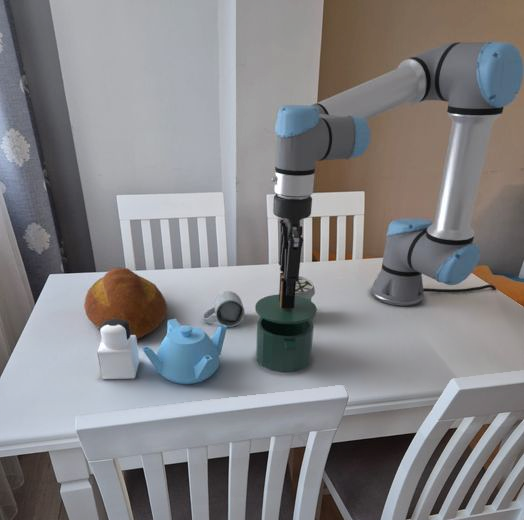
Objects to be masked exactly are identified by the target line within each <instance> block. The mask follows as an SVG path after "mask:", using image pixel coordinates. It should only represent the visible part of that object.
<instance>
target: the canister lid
mask: <svg viewBox="0 0 524 520" xmlns="http://www.w3.org/2000/svg"><path fill="white" fill-rule="evenodd" d="M281 278H284V274H282V275H281ZM282 284H283V281H281V293H280V301H279V293H278V294H271V295H267V296H264V297H262V298H261V299H259V300H258V301H257V302H256V303H255V305H254V307H255V308H254V309H255V313H256V314H257V315H258V316H259V318H260V317H262V318H263V319H265V320H268V321H271V322H275V323H280V324H297V323H303V322H306V321H309V320H311V321H312V319H314V318H315V317H316V316H317V312H318V308H317V305H316V304H315V303H314V302H313V301H312V300H311V301H310V300H308V299H306V298H303V297H300V296H296V295H295V302H294V308H281V302H282Z"/></svg>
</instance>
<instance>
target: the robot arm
mask: <svg viewBox="0 0 524 520" xmlns="http://www.w3.org/2000/svg"><path fill="white" fill-rule="evenodd" d="M523 78H524V59H523V56H522V55H521V52H520V50H519V49H518V47H516V46H515V44H512V43H510V42H501V41H495V40H492V41H480V42H477V41H475V42H473V41H471V42H469V41H467V42H458V41H455V42H449V43H445V44H440V45H438V46H435V47H433V48H430V49H427V50H426V51H423V52H421V53H418V54H415V55H414V56H410V57H408V58H406V59H405V60H402V61H401V62H400V63H399V65H398V66H397V68H395V69H393V70H391V71H388V72H386V73H384V74H382V75H378V76H377V77H374V78H371V79H370V80H368V81H365V82H363V83H361V84H358V85H356V86H354V87H352V88H349V89H347V90H343V91H342V92H340V93H337V94H334V95H332V96H330V97H328V98H325V99H323V100H321V101H318V102H316V103H313V104H311V105H305V104H304V105H302V104H299V105H298V104H285V105H283V106H281V107H280V108H279V109H278V113H277V119H276V121H275V125H274V126H275V127H274V130H275V161H274V162H275V163H274V174H275V176H272V177H271V182H273V183H274V186H273V187H274V191H273V192H274V193H275V195H274V196H273V204H272V205H273V206H272V207H273V208H272V212H273V214H274V216H275V217H277V218H280V219H279V229H280V232H279V258H278V265H279V270H280V273H279V290H278V291H279V292H278V294H279V301H280V293H281V281H283V284H282V302H281V308H294V302H295V288H296V282H298V280H299V276H300V268H301V258H302V257H301V256H302V247H303V244H304V243H303V242H304V237H303V226H302V225H301V220H303V219H307V218H309V217H310V216H312V215H311V214H312V207H313V198H312V195H313V194H314V185H315V175H316V174H315V173H316V172H315V171H316V162H321V161H334V160H350V159H356V158H359V157H362V156H363V155H364V154H365V153H366V152H367V150H368V148H369V146H370V142H371V128H370V125H369V123H368V121H370V120H372V119H374V118H377V117H379V116H381V115H383V114H385V113H388V112H390V111H393V110H394V109H397V108H399V107H401V106H403V105H405V104H406V105H410V106H413V105H416V104H419V103H421V102H425V101H440V102H448V104H447V109H446V110H447V111H446V114H447V116H448V117H449V118H450V120H451V127H450V133H449V138H448V144H447V149H446V155H445V161H444V167H443V172H442V177H441V183H440V190H439V194H438V200H437V206H436V211H435V216H434V222H432V220H430V219H425V218H417V217H415V218H414V217H413V218H412V217H411V218H410V217H409V218H407V217H406V218H398V219H394V220H392V221H391V222H390V223H389V225H388V228H387V233H386V236H385V244H384V250H383V255H382V256H383V257H382V263H381V268H380V271H379V273H378V274H377V276H376V277H375V279H374V281H373V283H372V287H371V292H370V293H371V296H372V297H373V298H374V299H375V300H377V301H378V302H381V303H383V304H386V305H389V306H390V305H391V306H394V307H395V306H396V307H412V306H417V305H419V304H421V303H422V302H423V300H424V295H425V293H424V292H430V293H466V292H474V291H480V290H481V291H482V290H484V289H489V288H490V289H492V291H493V290H494V291H496V290H497V288H496V286H495V285H493V284H484V285H481V286H473V287H467V288H456V289H455V288H450V289H449V288H446V289H445V288H426V287H425V288H424V285H423V283H424V282H423V276H422V275H424V276H426V277H428V278H430V279H432V280H435V281H436V282H438V283H443V284H445V285H447V286H456V285H459V284H461V283H463V282H464V281H466V279H467V278H469V277H470V275H472V273H473V272H474V271H475V269H476V268H477V266H478V263H479V261H480V257H481V250H480V247H479V246H478V245H477V244H476V243H474V239H475V230H474V229H473V228H472V227H471V222H472V219H473V214H474V209H475V205H476V204H475V203H476V201H477V200H476V199H477V195H478V191H479V186H480V181H481V177H482V173H483V168H484V164H485V159H486V154H487V150H488V146H489V141H490V136H491V132H492V128H493V124H494V122H495V121H496V120H497V119H498V118H499V117H501V116H502V115H503V113H504V112H503V111H504V108H505V107H507V106H509V105H510V104H511V103H512V102H513V101H514V100H515V99H516V95H517V94H519V92H520V90H521V87H522V83H523V81H524V80H523ZM282 274H284V278H281V275H282Z"/></svg>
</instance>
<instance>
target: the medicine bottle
mask: <svg viewBox="0 0 524 520" xmlns="http://www.w3.org/2000/svg"><path fill="white" fill-rule="evenodd" d="M99 332H100V339H101V342H100V344H99V347H98V348H97V349H98V350H97V358H98V363H99V364H98V365H99V369H100V370H99V371H100V376H101V379H102V380H122V379H123V380H124V379H125V380H126V379H128V380H129V379H136V377H137V372H138V368H139V364H140V356H139V347H138V342H137V341H138V338H137V339H136V335H131V334H130V327H129V323H128V322H127V321H125V320H123V319H110V320H107V321H105V322H103V323H102V324H101V325H100V328H99Z"/></svg>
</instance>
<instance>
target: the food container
mask: <svg viewBox="0 0 524 520" xmlns="http://www.w3.org/2000/svg"><path fill="white" fill-rule="evenodd" d="M315 294H316V290H315V285H314V282H313V281H311V279H309V278H307V277H304V276H300V275H299V280H298V282H296V288H295V295H296V296H300V297H303V298H306V299H308V300H310V301H311V302H312V297H314V296H315Z"/></svg>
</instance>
